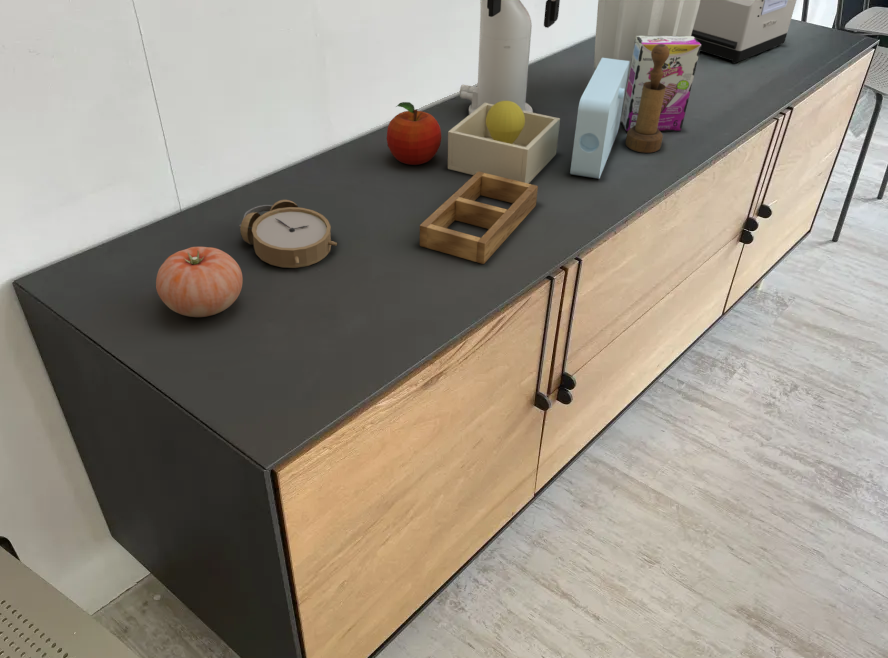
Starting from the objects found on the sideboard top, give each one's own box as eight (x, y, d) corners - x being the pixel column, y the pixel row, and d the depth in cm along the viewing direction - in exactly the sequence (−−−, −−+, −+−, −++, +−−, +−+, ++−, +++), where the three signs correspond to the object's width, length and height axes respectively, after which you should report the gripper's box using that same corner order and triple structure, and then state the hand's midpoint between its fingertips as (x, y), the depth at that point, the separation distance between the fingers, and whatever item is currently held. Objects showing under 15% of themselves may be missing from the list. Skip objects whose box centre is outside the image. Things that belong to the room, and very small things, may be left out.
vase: (698, 106, 159) (732, -42, 141) (616, 119, 154) (640, -35, 136) (646, 74, 173) (672, -65, 155) (569, 84, 167) (586, -59, 149)
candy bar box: (625, 132, 149) (641, 43, 138) (619, 122, 153) (634, 34, 142) (683, 132, 150) (702, 43, 139) (675, 121, 153) (694, 34, 143)
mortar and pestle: (660, 154, 142) (681, 53, 130) (624, 151, 143) (642, 49, 131) (660, 139, 147) (680, 40, 135) (625, 136, 148) (642, 37, 136)
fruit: (426, 176, 133) (426, 119, 127) (377, 165, 136) (375, 109, 130) (450, 154, 140) (451, 99, 134) (403, 144, 143) (401, 90, 136)
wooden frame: (419, 246, 116) (419, 225, 114) (477, 190, 130) (478, 171, 128) (483, 264, 113) (484, 243, 110) (536, 205, 126) (538, 185, 124)
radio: (603, 182, 133) (615, 106, 124) (569, 177, 134) (579, 101, 125) (623, 129, 150) (635, 59, 141) (593, 125, 151) (603, 55, 142)
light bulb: (490, 168, 135) (493, 111, 128) (479, 151, 139) (481, 96, 133) (527, 164, 136) (532, 107, 129) (514, 147, 141) (518, 93, 134)
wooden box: (447, 169, 136) (448, 131, 131) (483, 138, 146) (484, 102, 141) (524, 188, 131) (528, 149, 126) (556, 154, 141) (560, 118, 136)
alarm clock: (286, 261, 107) (220, 206, 113) (286, 288, 111) (222, 234, 116) (348, 231, 113) (282, 181, 119) (346, 257, 117) (282, 207, 123)
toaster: (735, 66, 178) (756, -16, 166) (646, 39, 191) (660, -39, 180) (788, 45, 190) (810, -33, 178) (700, 20, 204) (716, -54, 192)
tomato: (148, 324, 100) (133, 272, 95) (185, 279, 108) (172, 228, 103) (227, 335, 99) (216, 282, 94) (259, 288, 107) (250, 237, 102)
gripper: (466, -106, 114) (462, 17, 125) (577, -91, 108) (562, 36, 119) (488, -115, 119) (483, 4, 130) (595, -101, 113) (580, 22, 124)
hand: (521, 19), depth 125 cm, fingers open, 9 cm apart
